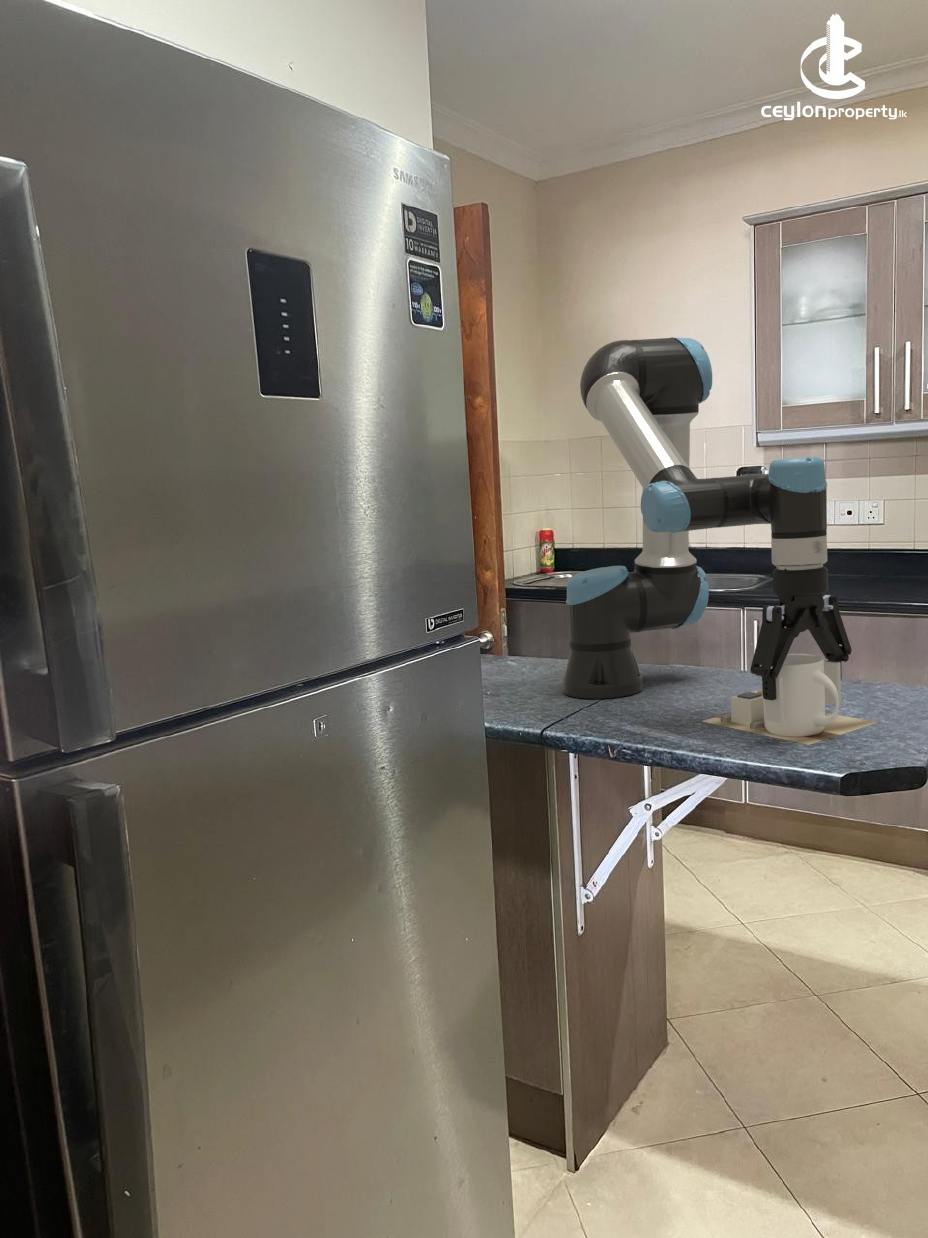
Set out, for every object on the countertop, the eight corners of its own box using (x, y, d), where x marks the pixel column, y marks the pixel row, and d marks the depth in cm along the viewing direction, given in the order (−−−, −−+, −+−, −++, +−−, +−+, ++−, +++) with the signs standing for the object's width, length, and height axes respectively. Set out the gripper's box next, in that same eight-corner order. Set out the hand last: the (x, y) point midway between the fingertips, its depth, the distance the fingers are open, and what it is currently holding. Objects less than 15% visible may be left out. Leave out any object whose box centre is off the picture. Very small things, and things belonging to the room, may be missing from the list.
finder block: (731, 722, 146) (730, 695, 145) (757, 714, 149) (756, 688, 148) (751, 726, 142) (750, 699, 142) (777, 718, 145) (777, 691, 145)
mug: (818, 746, 130) (816, 670, 129) (751, 730, 140) (749, 660, 139) (858, 733, 134) (857, 660, 133) (790, 719, 145) (788, 651, 143)
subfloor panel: (701, 728, 148) (701, 716, 148) (769, 709, 156) (769, 697, 156) (808, 753, 131) (808, 739, 131) (878, 730, 139) (877, 717, 139)
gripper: (763, 577, 124) (768, 733, 127) (875, 557, 137) (878, 700, 140) (720, 575, 131) (726, 724, 134) (831, 556, 143) (834, 693, 146)
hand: (804, 712), depth 137 cm, fingers open, 12 cm apart
